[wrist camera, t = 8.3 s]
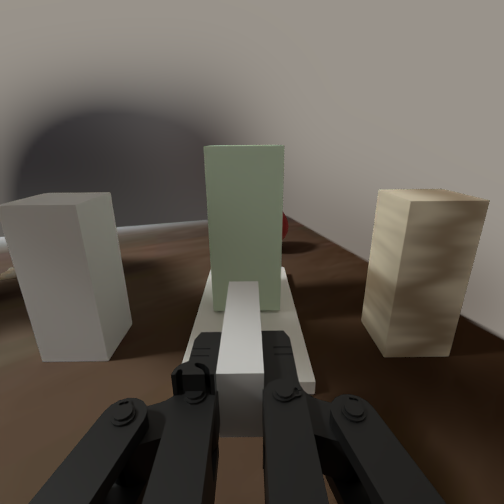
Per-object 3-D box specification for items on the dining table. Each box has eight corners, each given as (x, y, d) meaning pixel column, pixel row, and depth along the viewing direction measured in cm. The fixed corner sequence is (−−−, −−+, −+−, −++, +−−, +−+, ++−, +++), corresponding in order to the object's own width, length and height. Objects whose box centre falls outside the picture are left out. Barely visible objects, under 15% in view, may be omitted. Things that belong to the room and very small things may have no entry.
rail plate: (314, 393, 20) (315, 381, 19) (177, 395, 20) (175, 383, 19) (283, 274, 38) (283, 267, 37) (211, 275, 38) (211, 267, 37)
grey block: (42, 361, 23) (-5, 205, 19) (77, 324, 28) (46, 193, 24) (108, 361, 23) (75, 204, 19) (132, 323, 28) (110, 192, 24)
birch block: (383, 357, 23) (410, 201, 19) (361, 321, 28) (378, 189, 24) (448, 356, 23) (489, 200, 19) (415, 320, 28) (442, 188, 24)
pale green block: (280, 310, 27) (284, 145, 22) (213, 310, 27) (203, 146, 22) (274, 281, 33) (277, 144, 28) (219, 281, 33) (212, 145, 28)
